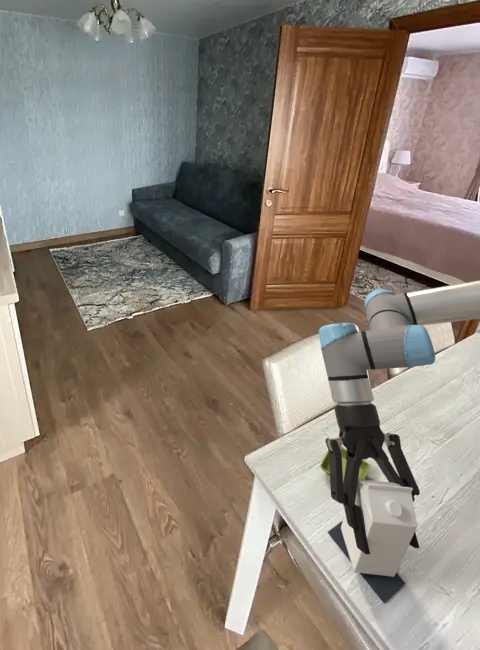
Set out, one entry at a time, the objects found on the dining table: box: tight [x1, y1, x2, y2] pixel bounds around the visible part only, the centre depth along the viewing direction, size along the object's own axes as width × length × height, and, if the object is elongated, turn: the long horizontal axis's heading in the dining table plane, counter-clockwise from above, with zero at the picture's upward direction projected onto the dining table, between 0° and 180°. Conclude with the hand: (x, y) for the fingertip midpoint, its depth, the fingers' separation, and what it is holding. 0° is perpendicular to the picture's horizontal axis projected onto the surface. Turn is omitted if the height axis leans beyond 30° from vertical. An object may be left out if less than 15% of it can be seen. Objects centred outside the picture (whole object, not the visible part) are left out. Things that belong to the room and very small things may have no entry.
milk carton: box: [341, 479, 418, 577], centre depth 62 cm, size 7×7×19 cm
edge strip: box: [327, 520, 406, 604], centre depth 66 cm, size 12×6×1 cm, turn 27°
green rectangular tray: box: [319, 447, 371, 482], centre depth 81 cm, size 9×9×2 cm
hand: (387, 547), depth 59 cm, fingers closed on milk carton, 8 cm apart
